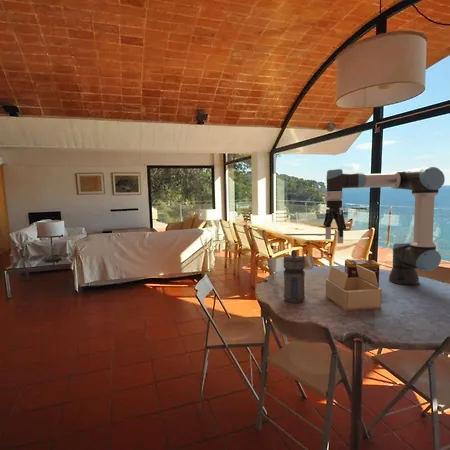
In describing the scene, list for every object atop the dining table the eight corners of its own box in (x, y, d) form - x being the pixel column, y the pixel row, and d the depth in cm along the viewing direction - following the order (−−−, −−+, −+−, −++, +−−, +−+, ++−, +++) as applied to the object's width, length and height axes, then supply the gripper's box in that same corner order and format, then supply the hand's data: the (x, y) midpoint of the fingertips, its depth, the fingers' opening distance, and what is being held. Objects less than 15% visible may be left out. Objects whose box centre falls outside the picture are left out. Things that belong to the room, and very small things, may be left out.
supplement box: (379, 293, 156) (379, 264, 154) (347, 292, 159) (348, 263, 157) (373, 287, 166) (374, 259, 164) (344, 286, 169) (344, 259, 167)
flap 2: (359, 276, 153) (356, 264, 152) (378, 285, 137) (375, 272, 136) (358, 277, 153) (355, 265, 152) (377, 286, 137) (374, 272, 136)
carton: (357, 293, 156) (357, 277, 155) (381, 308, 136) (382, 289, 135) (325, 295, 155) (325, 278, 154) (345, 311, 134) (345, 291, 133)
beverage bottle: (304, 295, 156) (304, 248, 153) (305, 304, 143) (305, 253, 141) (284, 294, 158) (283, 248, 156) (283, 303, 145) (283, 253, 143)
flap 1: (328, 278, 151) (332, 266, 151) (344, 288, 136) (348, 274, 135) (328, 278, 151) (331, 266, 151) (343, 288, 136) (346, 274, 135)
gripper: (317, 199, 164) (317, 238, 167) (338, 200, 140) (338, 245, 142) (330, 199, 165) (330, 237, 167) (354, 200, 140) (353, 244, 143)
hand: (333, 241), depth 155 cm, fingers open, 13 cm apart
